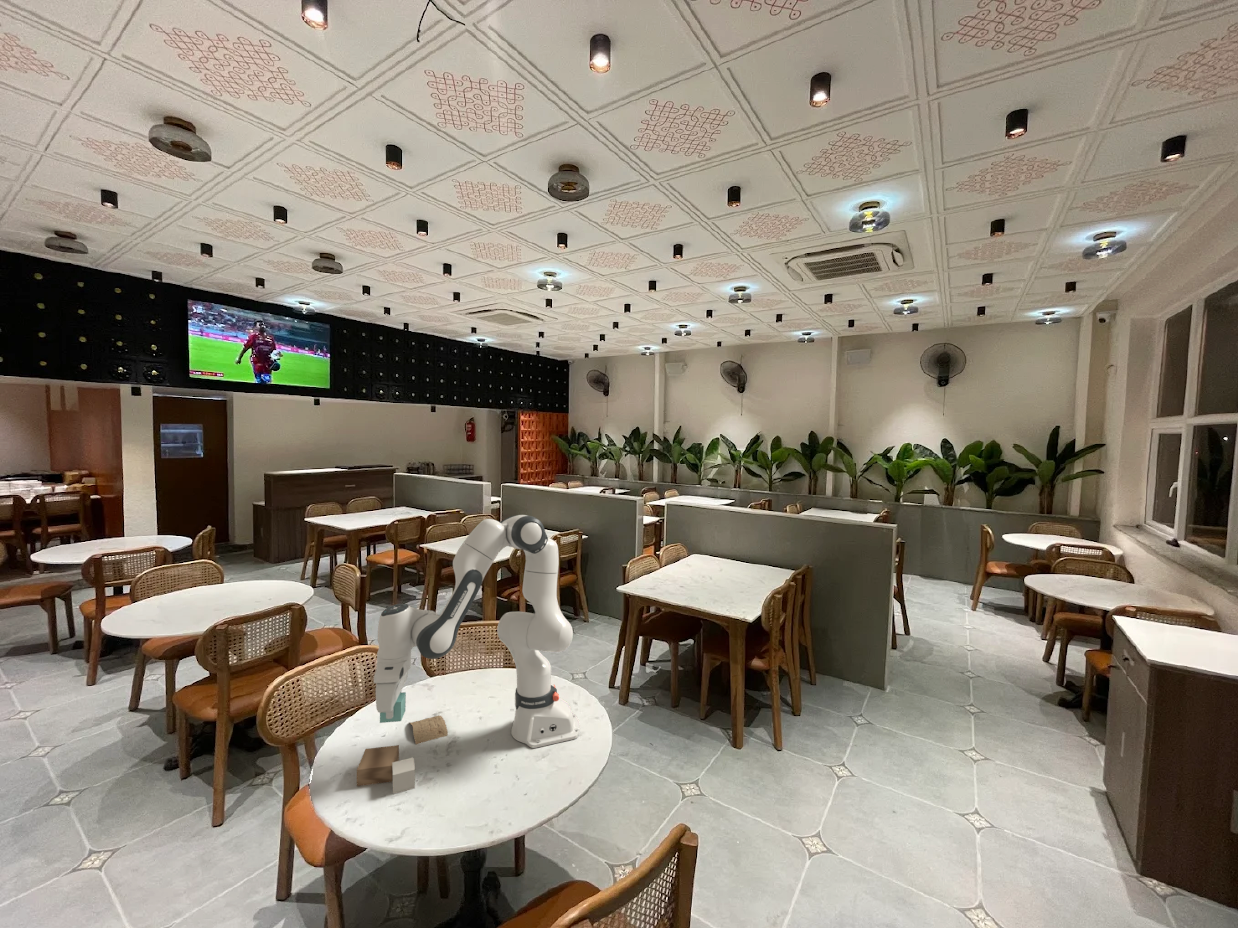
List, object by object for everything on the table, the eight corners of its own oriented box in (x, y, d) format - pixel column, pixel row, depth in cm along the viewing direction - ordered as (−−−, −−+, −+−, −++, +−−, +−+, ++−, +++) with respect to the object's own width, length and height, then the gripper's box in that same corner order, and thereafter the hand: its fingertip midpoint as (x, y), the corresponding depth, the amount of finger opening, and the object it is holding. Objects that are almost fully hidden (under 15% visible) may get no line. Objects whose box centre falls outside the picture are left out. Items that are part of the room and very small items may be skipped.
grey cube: (413, 775, 138) (413, 756, 138) (414, 788, 134) (414, 769, 133) (392, 781, 136) (392, 762, 136) (392, 794, 131) (392, 775, 131)
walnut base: (398, 761, 144) (398, 744, 144) (392, 782, 136) (392, 765, 135) (365, 765, 142) (365, 748, 142) (356, 787, 134) (356, 769, 133)
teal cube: (405, 710, 142) (405, 692, 141) (400, 721, 136) (401, 701, 136) (385, 712, 141) (385, 693, 140) (379, 722, 135) (380, 703, 135)
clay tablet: (407, 724, 163) (407, 716, 163) (439, 715, 168) (439, 707, 168) (415, 748, 151) (416, 740, 151) (449, 738, 156) (449, 730, 156)
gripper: (391, 648, 147) (390, 693, 148) (371, 680, 127) (370, 732, 128) (413, 647, 149) (412, 691, 149) (397, 678, 129) (396, 730, 129)
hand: (393, 710), depth 138 cm, fingers closed on teal cube, 5 cm apart
